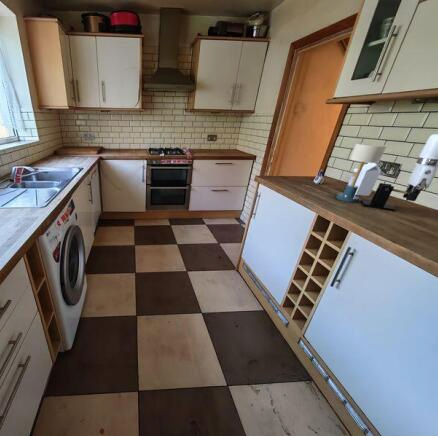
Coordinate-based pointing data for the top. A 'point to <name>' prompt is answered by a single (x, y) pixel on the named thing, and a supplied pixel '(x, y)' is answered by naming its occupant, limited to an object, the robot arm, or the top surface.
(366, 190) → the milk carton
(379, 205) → the switch bracket
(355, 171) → the sprinkles bottle
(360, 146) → the table lamp
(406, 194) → the lamp switch
